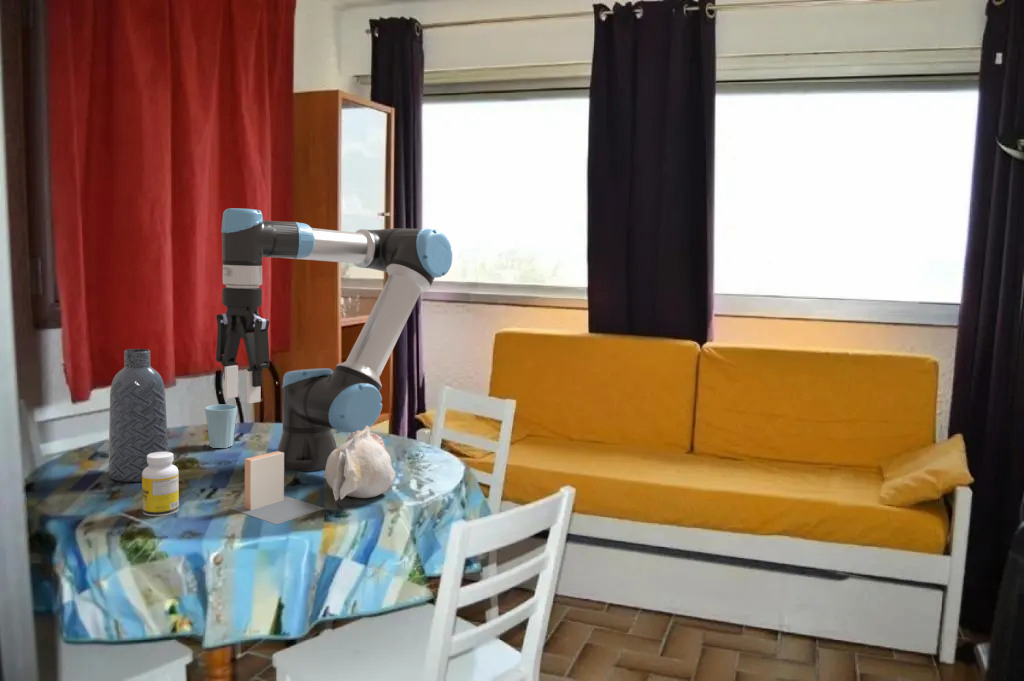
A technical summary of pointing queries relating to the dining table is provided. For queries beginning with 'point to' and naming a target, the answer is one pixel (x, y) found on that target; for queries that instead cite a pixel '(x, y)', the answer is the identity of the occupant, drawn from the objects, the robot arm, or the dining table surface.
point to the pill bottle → (160, 485)
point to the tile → (264, 480)
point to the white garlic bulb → (360, 467)
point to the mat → (280, 510)
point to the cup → (221, 424)
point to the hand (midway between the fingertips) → (242, 399)
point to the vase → (136, 417)
